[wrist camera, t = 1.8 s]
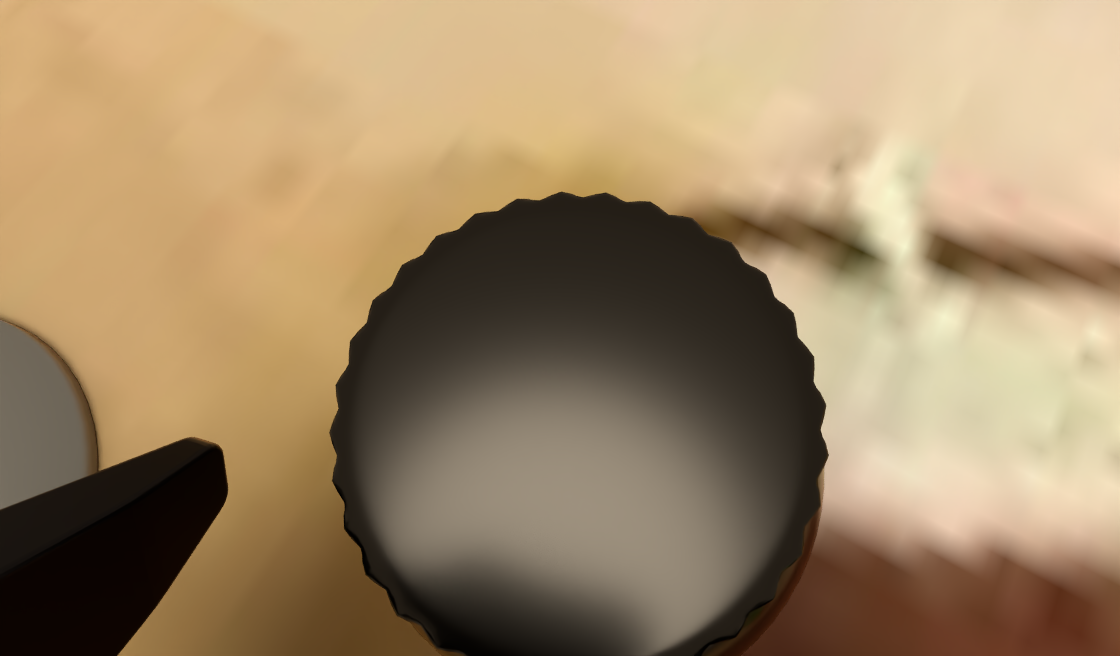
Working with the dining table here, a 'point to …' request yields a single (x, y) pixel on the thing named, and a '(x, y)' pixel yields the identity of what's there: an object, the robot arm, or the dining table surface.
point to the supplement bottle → (581, 437)
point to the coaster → (40, 419)
